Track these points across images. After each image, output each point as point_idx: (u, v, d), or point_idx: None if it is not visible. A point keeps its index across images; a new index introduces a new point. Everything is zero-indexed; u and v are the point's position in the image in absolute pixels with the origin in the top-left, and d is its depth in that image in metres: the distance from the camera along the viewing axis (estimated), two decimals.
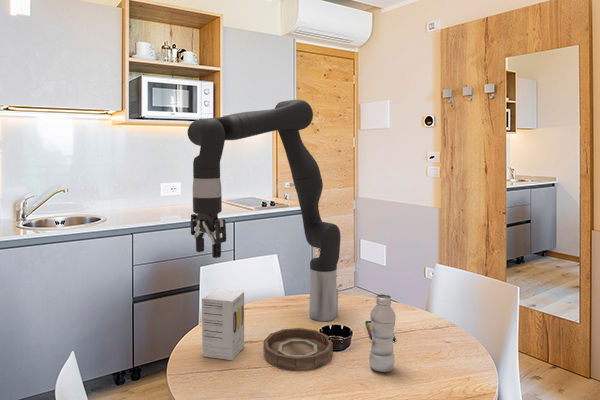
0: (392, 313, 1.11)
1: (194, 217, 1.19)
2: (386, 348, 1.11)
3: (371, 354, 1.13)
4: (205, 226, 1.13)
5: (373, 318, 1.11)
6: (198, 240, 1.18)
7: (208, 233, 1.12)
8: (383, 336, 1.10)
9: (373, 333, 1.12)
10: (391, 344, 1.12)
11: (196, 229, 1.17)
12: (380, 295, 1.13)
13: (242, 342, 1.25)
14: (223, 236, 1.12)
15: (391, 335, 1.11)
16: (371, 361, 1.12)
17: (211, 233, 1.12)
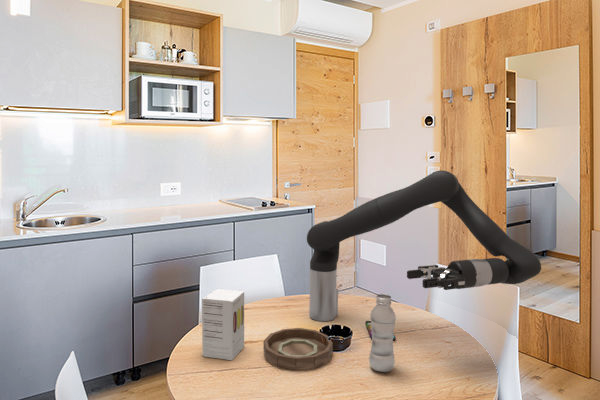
0: (392, 313, 1.11)
1: None
2: (386, 348, 1.11)
3: (371, 354, 1.13)
4: None
5: (373, 318, 1.11)
6: None
7: None
8: (383, 336, 1.10)
9: (373, 333, 1.12)
10: (391, 344, 1.12)
11: None
12: (380, 295, 1.13)
13: (242, 342, 1.25)
14: None
15: (391, 335, 1.11)
16: (371, 361, 1.12)
17: None
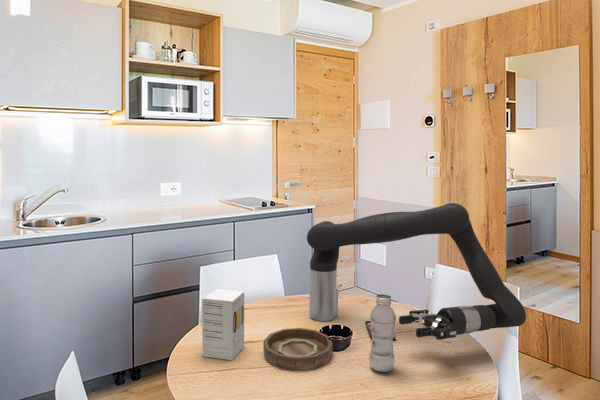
0: (392, 313, 1.11)
1: None
2: (386, 348, 1.11)
3: (371, 354, 1.13)
4: None
5: (373, 318, 1.11)
6: None
7: None
8: (383, 336, 1.10)
9: (373, 333, 1.12)
10: (391, 344, 1.12)
11: None
12: (380, 295, 1.13)
13: (242, 342, 1.25)
14: None
15: (391, 335, 1.11)
16: (371, 361, 1.12)
17: None
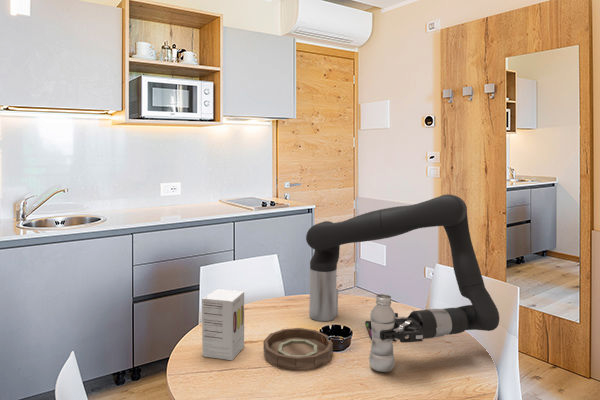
0: (392, 313, 1.11)
1: None
2: (385, 348, 1.11)
3: (371, 354, 1.13)
4: None
5: (373, 318, 1.11)
6: None
7: None
8: None
9: (373, 333, 1.12)
10: (391, 344, 1.12)
11: None
12: (380, 295, 1.13)
13: (242, 342, 1.25)
14: None
15: None
16: (371, 361, 1.12)
17: None
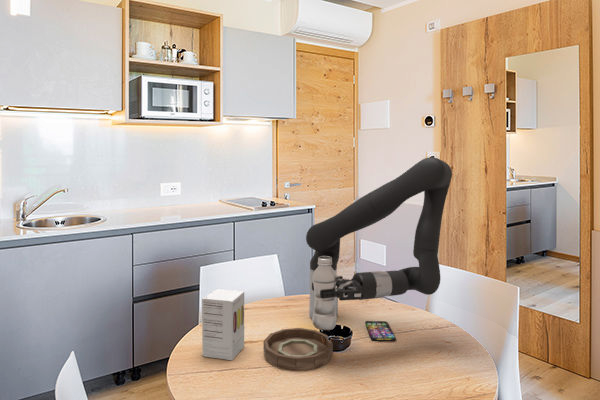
0: (332, 273, 1.15)
1: None
2: (326, 307, 1.15)
3: (313, 313, 1.17)
4: None
5: (314, 278, 1.15)
6: None
7: None
8: None
9: (315, 293, 1.16)
10: (332, 303, 1.16)
11: None
12: (322, 257, 1.18)
13: (242, 342, 1.25)
14: None
15: None
16: (313, 320, 1.17)
17: None
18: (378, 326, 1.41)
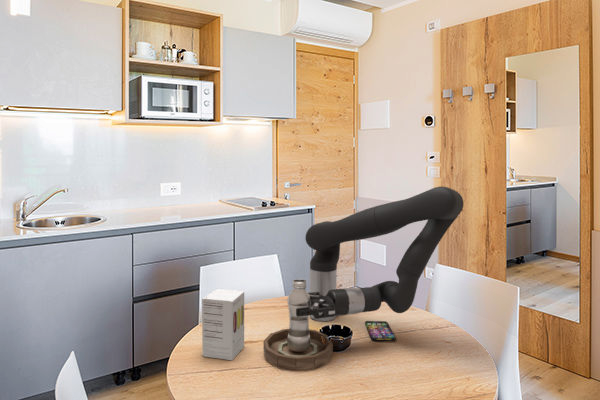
0: (306, 296, 1.19)
1: None
2: (300, 329, 1.19)
3: (288, 335, 1.21)
4: None
5: (289, 301, 1.19)
6: None
7: None
8: (297, 318, 1.19)
9: (289, 315, 1.20)
10: (306, 325, 1.20)
11: None
12: (297, 280, 1.22)
13: (242, 342, 1.25)
14: None
15: (306, 317, 1.19)
16: (288, 342, 1.21)
17: None
18: (378, 326, 1.41)
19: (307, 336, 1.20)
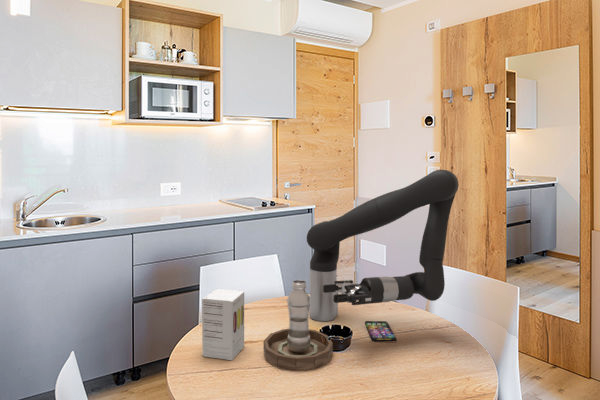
0: (306, 297, 1.19)
1: None
2: (300, 330, 1.19)
3: (288, 336, 1.21)
4: None
5: (288, 302, 1.19)
6: None
7: None
8: (297, 319, 1.18)
9: (289, 316, 1.20)
10: (306, 326, 1.20)
11: None
12: (297, 281, 1.21)
13: (242, 342, 1.25)
14: None
15: (305, 318, 1.19)
16: (288, 342, 1.20)
17: None
18: (378, 326, 1.41)
19: (307, 337, 1.20)
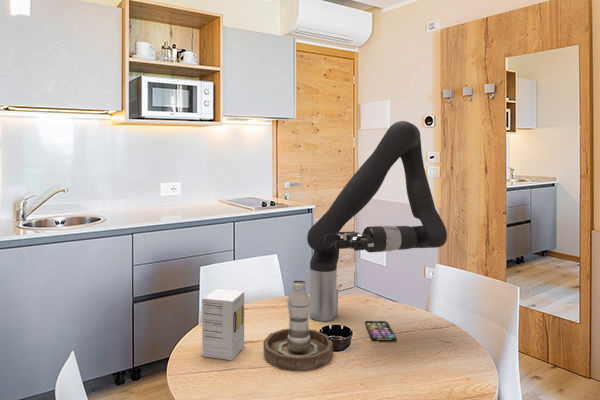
0: (306, 297, 1.19)
1: None
2: (300, 330, 1.19)
3: (288, 336, 1.21)
4: None
5: (288, 302, 1.19)
6: None
7: None
8: (297, 319, 1.18)
9: (289, 316, 1.20)
10: (306, 326, 1.20)
11: None
12: (297, 281, 1.21)
13: (242, 342, 1.25)
14: None
15: (305, 318, 1.19)
16: (288, 342, 1.20)
17: None
18: (378, 326, 1.41)
19: (307, 337, 1.20)
